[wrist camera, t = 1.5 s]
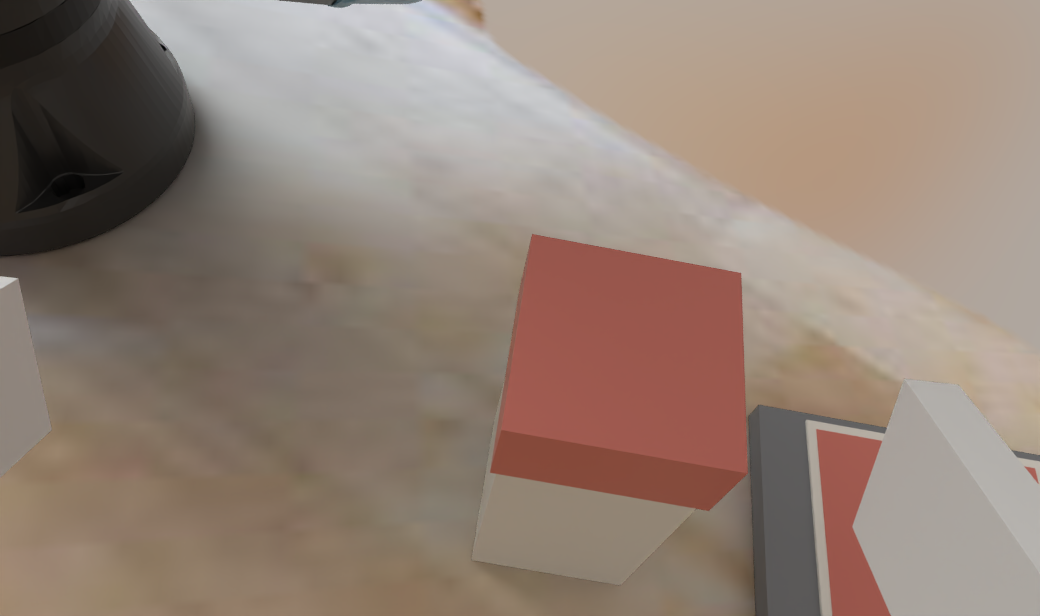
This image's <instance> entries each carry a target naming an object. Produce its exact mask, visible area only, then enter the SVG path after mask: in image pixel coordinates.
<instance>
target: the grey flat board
mask: <svg viewBox="0 0 1040 616" xmlns="http://www.w3.org/2000/svg"><path fill="white" fill-rule="evenodd" d="M886 429H887V428H885V427H879V426H874V425H868V424H863V423H857V422H852V421H846V420H841V419H835V418H829V417H824V416H818V415H813V414H807V413H802V412H796V411H791V410H785V409H779V408H774V407H768V406H763V405H758V406H757V407H756V409H755V410H754V411H753V412H752V413H751V414H750V415H749V436H750V465H751V493H752V521H753V550H754V578H755V607H756V616H891V615H890V613H889V610H888V608H887V606H886V603H885V601H884V599H883V596H882V594H881V592H880V590H879V587H878V585H877V583H876V580H875V578H874V576H873V573H872V571H871V569H870V567H869V564H868V562H867V560H866V557H865V555H864V553H863V550H862V548H861V546H860V544H859V541H858V539H857V537H856V534H855V532H854V530H853V527H852V526H853V523H854V520H855V517H856V514H857V511H858V509H859V506H860V503H861V500H862V497H863V494H864V492H865V489H866V486H867V483H868V480H869V477H870V475H871V472H872V469H873V466H874V463H875V460H876V457H877V455H878V452H879V449H880V446H881V443H882V440H883V438H884V435H885V432H886ZM1011 451H1012V452H1013V453H1014V454H1015V456H1016V457H1017V458H1018V459H1019V461H1020V462H1021V463H1022V464H1023V466H1024V467H1025V468H1026V469H1027V471H1028V472H1029V473H1030V474H1031V475H1032V477H1033V478H1034V479H1035V480H1036V482H1037V483H1038V484H1039V485H1040V455H1035V454H1029V453H1024V452H1018V451H1013V450H1011Z"/></svg>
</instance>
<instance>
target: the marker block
mask: <svg viewBox="0 0 1040 616" xmlns="http://www.w3.org/2000/svg"><path fill="white" fill-rule="evenodd" d="M747 474H748V467H747V437H746V406H745V376H744V346H743V315H742V285H741V273H738V272H732V271H727V270H722V269H716V268H711V267H706V266H700V265H695V264H689V263H684V262H679V261H673V260H668V259H663V258H657V257H652V256H646V255H641V254H636V253H630V252H625V251H620V250H614V249H609V248H603V247H598V246H593V245H587V244H582V243H577V242H571V241H566V240H560V239H555V238H550V237H544V236H539V235H534V234H532V237H531V241H530V246H529V250H528V254H527V259H526V263H525V267H524V272H523V276H522V280H521V285H520V289H519V295H518V301H517V307H516V313H515V320H514V326H513V332H512V338H511V345H510V351H509V357H508V363H507V369H506V374H505V378H504V382H503V386H502V391H501V395H500V399H499V403H498V407H497V411H496V415H495V419H494V424H493V430H492V436H491V442H490V448H489V455H488V461H487V467H486V473H485V479H484V485H483V491H482V497H481V503H480V509H479V515H478V521H477V528H476V534H475V540H474V546H473V552H472V558H471V560H473V561H479V562H485V563H491V564H497V565H502V566H508V567H514V568H520V569H526V570H532V571H538V572H544V573H549V574H555V575H561V576H567V577H573V578H579V579H585V580H591V581H596V582H602V583H608V584H614V585H621V584H622V583H623V582H624V581H625V580H626V579H627V578H628V577H629V576H630V575H631V574H632V573H633V572H634V571H635V570H636V569H637V568H638V567H639V566H640V565H641V564H642V563H643V562H644V561H645V560H646V559H647V558H648V557H649V556H650V555H651V554H652V553H653V552H654V551H655V550H656V549H657V548H658V547H659V546H660V545H661V544H662V543H663V542H664V541H665V540H666V539H667V538H668V537H669V536H670V535H671V534H672V533H673V532H674V531H675V530H676V529H677V528H678V527H679V526H680V525H681V524H682V523H683V522H684V521H685V520H686V519H687V518H688V517H689V516H690V515H691V514H692V513H693V512H694V511H695V510H696V509H701V510H707V511H709V510H710V509H711V508H712V507H713V506H714V505H715V504H716V503H718V502H719V501H720V500H721V499H722V498H723V497H724V496H725V495H726V494H727V493H728V492H729V491H730V490H731V489H732V488H733V487H734V486H735V485H736V484H737V483H738V482H739V481H740V480H741V479H742V478H743V477H745V476H746V475H747Z"/></svg>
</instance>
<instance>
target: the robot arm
mask: <svg viewBox="0 0 1040 616" xmlns="http://www.w3.org/2000/svg"><path fill="white" fill-rule="evenodd" d="M280 1H291V2H302V3H313V4H324V5H328V6H331V7H338V8H342V7H347V6H350V5H351V4H411V3H416V2H419V1H422V0H280ZM194 132H195V118H194V111H193V107H192V103H191V100H190V97H189V93H188V90H187V87H186V83H185V80H184V77H183V74H182V72H181V69H180V67H179V65H178V63H177V61H176V59H175V58H174V56H173V54H172V53H171V52H170V50H169V49H168V48H167V47H166V46H165V44H164V43H163V42H162V41H161V40H160V38H159V37H158V36H157V35H156V34H155V33H154V32H153V31H151V30H150V29H149V28H148V26H147V25H146V23H145V22H144V20H143V19H142V17H141V16H140V15H139V13H138V12H137V10H136V9H135V8H134V6H133V5H132V4H131V2H130V1H129V0H0V256H5V255H20V254H28V253H36V252H41V251H47V250H52V249H56V248H60V247H64V246H67V245H71V244H74V243H77V242H80V241H83V240H86V239H89V238H91V237H94V236H96V235H99V234H101V233H103V232H105V231H107V230H110V229H112V228H114V227H116V226H117V225H119V224H121V223H123V222H125V221H126V220H128V219H130V218H131V217H133V216H134V215H136V214H137V213H139V212H140V211H141V210H143V209H144V208H146V207H147V206H148V205H149V204H151V203H152V202H153V201H154V200H155V199H156V198H157V197H159V196H160V195H161V194H162V193H163V192H164V191H165V190H166V188H167V187H168V186H169V185H170V184H171V183H172V181H173V180H174V179H175V178H176V176H177V175H178V173H179V172H180V170H181V169H182V167H183V165H184V163H185V162H186V160H187V157H188V155H189V153H190V150H191V147H192V143H193V139H194ZM51 430H52V428H51V423H50V419H49V414H48V410H47V405H46V401H45V396H44V392H43V387H42V383H41V378H40V374H39V369H38V365H37V360H36V356H35V351H34V347H33V342H32V338H31V333H30V329H29V324H28V320H27V315H26V311H25V306H24V302H23V297H22V293H21V288H20V284H19V279H18V278H11V277H2V276H0V477H1V476H2V475H4V474H5V473H6V472H7V471H8V470H9V469H10V468H11V467H12V466H13V465H14V464H15V463H17V462H18V461H19V460H20V459H21V458H22V457H23V456H24V455H25V454H26V453H27V452H28V451H30V450H31V449H32V448H33V447H34V446H35V445H36V444H37V443H38V442H39V441H40V440H42V439H43V438H44V437H45V436H46V435H47V434H48V433H49V432H50V431H51ZM852 527H853V530H854V532H855V534H856V537H857V539H858V541H859V544H860V546H861V548H862V550H863V553H864V555H865V557H866V560H867V562H868V564H869V567H870V569H871V571H872V573H873V576H874V578H875V580H876V583H877V585H878V587H879V590H880V592H881V594H882V596H883V599H884V601H885V603H886V606H887V608H888V610H889V613H890V615H891V616H1040V485H1039V484H1038V483H1037V482H1036V480H1035V479H1034V478H1033V477H1032V475H1031V474H1030V473H1029V472H1028V471H1027V469H1026V468H1025V467H1024V466H1023V464H1022V463H1021V462H1020V461H1019V459H1018V458H1017V457H1016V456H1015V454H1014V453H1013V452H1012V451H1011V449H1010V448H1009V447H1008V446H1007V444H1006V443H1005V442H1004V441H1003V439H1002V438H1001V437H1000V436H999V434H998V433H997V432H996V431H995V429H994V428H993V427H992V426H991V425H990V423H989V422H988V421H987V420H986V418H985V417H984V416H983V415H982V413H981V412H980V411H979V410H978V408H977V407H976V406H975V405H974V403H973V402H972V401H971V400H970V398H969V397H968V396H967V395H966V393H965V392H964V391H963V390H962V388H961V387H960V386H959V385H956V384H947V383H938V382H930V381H921V380H912V379H904V381H903V384H902V387H901V389H900V392H899V395H898V398H897V401H896V404H895V406H894V409H893V412H892V415H891V418H890V421H889V423H888V426H887V429H886V432H885V435H884V438H883V440H882V443H881V446H880V449H879V452H878V455H877V457H876V460H875V463H874V466H873V469H872V472H871V475H870V477H869V480H868V483H867V486H866V489H865V492H864V494H863V497H862V500H861V503H860V506H859V509H858V511H857V514H856V517H855V520H854V523H853V526H852Z"/></svg>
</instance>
